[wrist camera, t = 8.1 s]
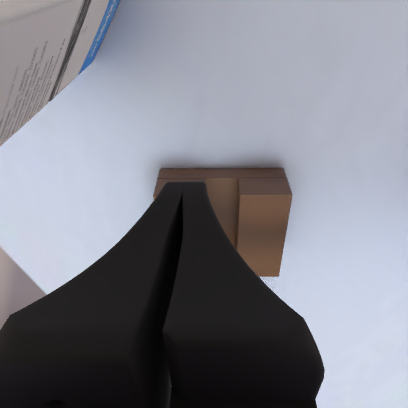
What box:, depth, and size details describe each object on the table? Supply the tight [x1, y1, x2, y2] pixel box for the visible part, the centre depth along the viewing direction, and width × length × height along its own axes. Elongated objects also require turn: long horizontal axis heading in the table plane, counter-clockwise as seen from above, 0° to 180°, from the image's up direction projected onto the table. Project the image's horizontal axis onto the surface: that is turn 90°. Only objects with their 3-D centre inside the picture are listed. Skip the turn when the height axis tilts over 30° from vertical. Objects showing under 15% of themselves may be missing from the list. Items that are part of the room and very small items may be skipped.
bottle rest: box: [153, 168, 292, 277], centre depth 23 cm, size 7×8×3 cm
